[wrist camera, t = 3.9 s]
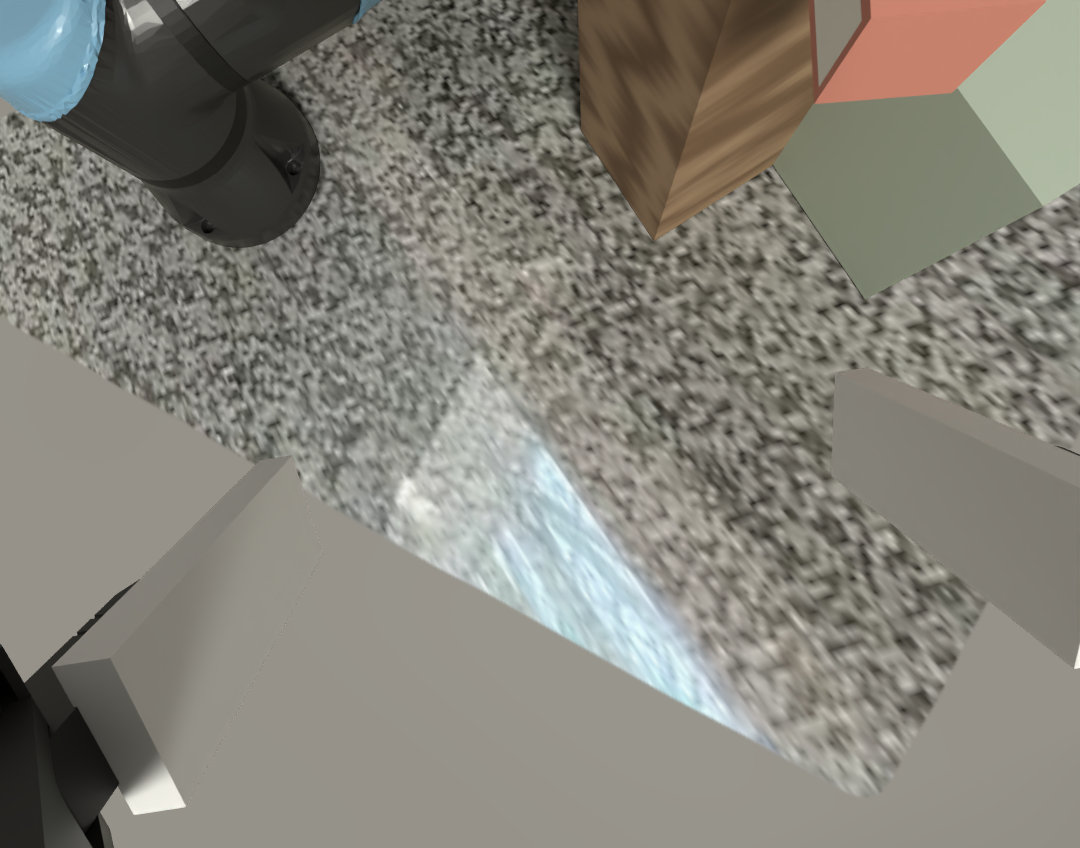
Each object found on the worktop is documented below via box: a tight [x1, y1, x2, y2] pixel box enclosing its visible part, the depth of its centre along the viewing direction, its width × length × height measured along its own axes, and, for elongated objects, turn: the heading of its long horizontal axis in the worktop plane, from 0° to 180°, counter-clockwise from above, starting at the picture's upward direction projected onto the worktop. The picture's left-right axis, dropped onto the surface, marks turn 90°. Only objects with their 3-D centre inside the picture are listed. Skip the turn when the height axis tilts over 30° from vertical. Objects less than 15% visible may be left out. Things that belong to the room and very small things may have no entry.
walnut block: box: [578, 0, 814, 241], centre depth 35 cm, size 12×14×30 cm
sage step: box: [773, 0, 1080, 299], centre depth 39 cm, size 14×12×19 cm
